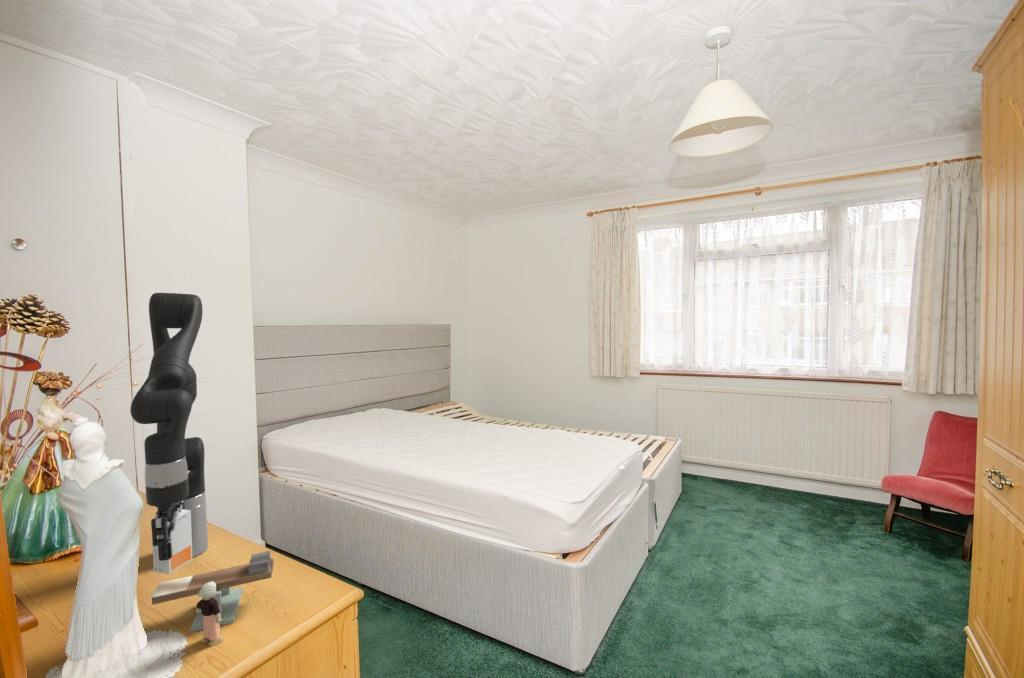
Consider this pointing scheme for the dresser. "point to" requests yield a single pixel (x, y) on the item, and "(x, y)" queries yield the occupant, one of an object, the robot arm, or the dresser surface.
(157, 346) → the robot arm
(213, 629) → the grandmother figurine
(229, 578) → the beam
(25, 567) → the dresser surface
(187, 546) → the skincare box
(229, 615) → the beam stand
